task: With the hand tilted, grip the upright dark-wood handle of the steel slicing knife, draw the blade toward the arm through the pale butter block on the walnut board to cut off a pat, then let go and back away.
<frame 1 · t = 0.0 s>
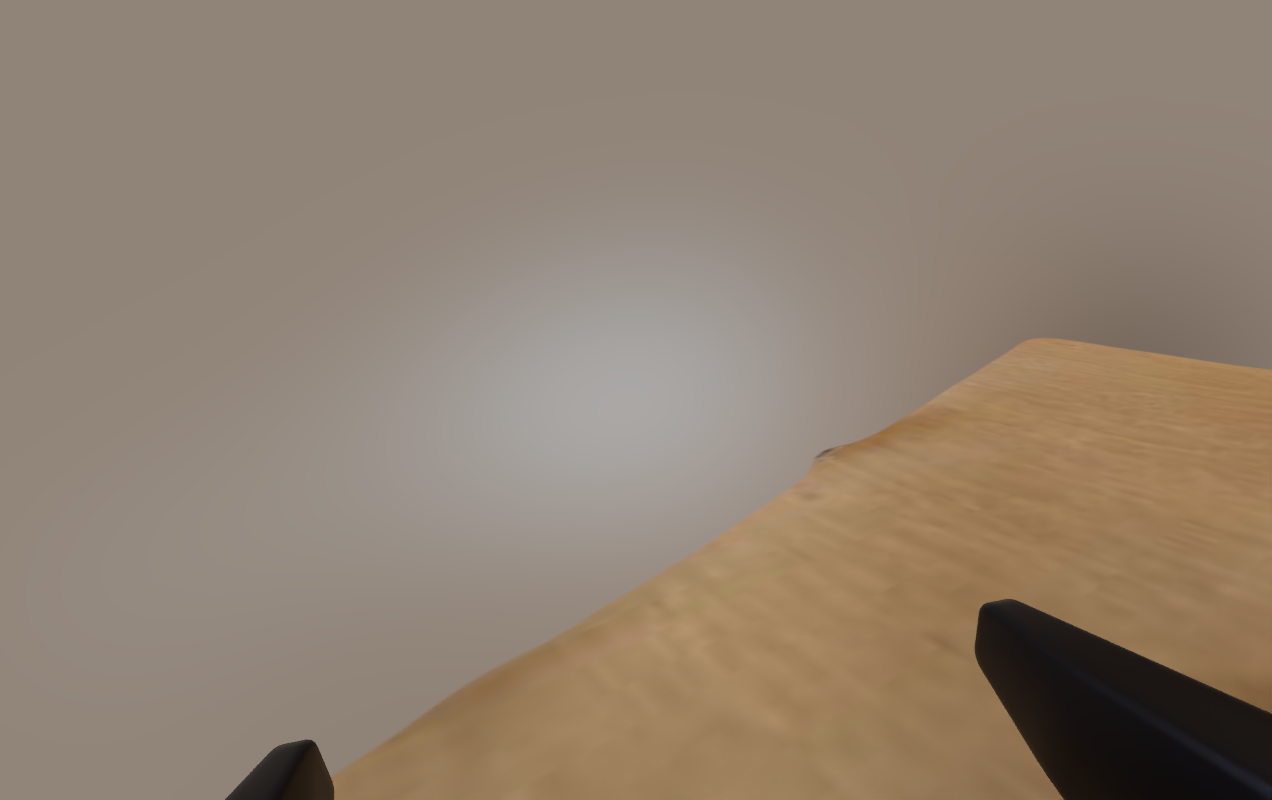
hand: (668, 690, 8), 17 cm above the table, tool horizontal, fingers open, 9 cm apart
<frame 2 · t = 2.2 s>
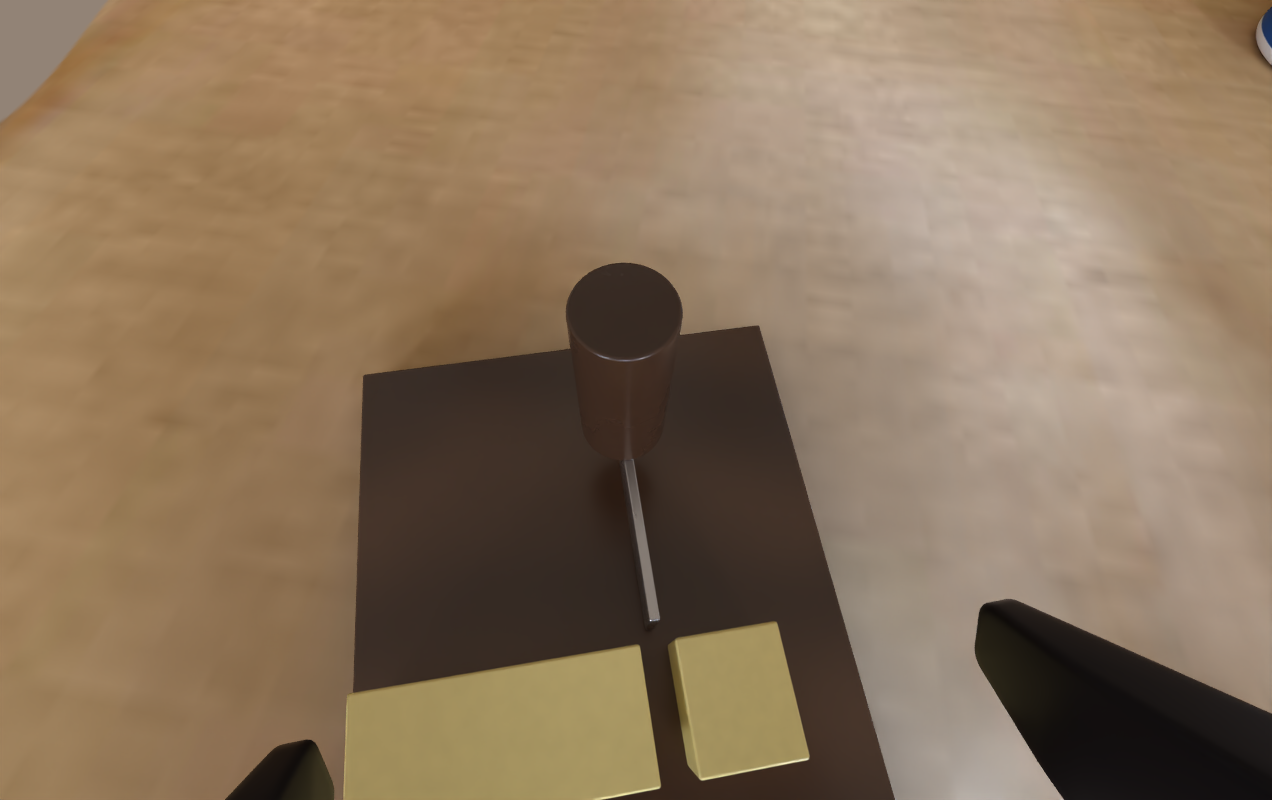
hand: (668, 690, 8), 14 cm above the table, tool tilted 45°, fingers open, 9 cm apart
butter: (517, 732, 19), point 1 cm above the table, touching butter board
knife: (635, 476, 17), point 7 cm above the table, slide at 0.0 cm
butter pat: (723, 694, 19), point 1 cm above the table, touching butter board
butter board: (601, 611, 22), on the table
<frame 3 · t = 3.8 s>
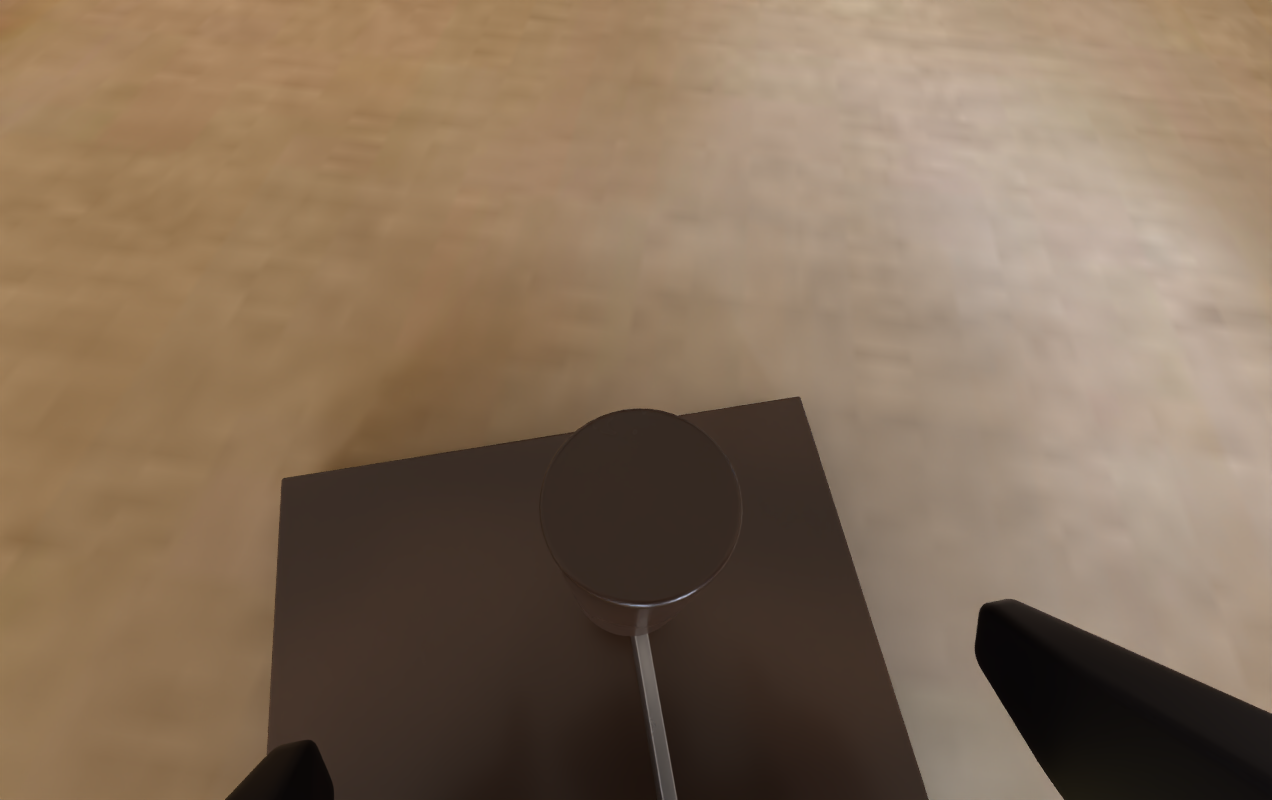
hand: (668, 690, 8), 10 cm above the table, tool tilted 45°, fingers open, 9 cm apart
knife: (655, 691, 11), point 7 cm above the table, slide at 0.0 cm
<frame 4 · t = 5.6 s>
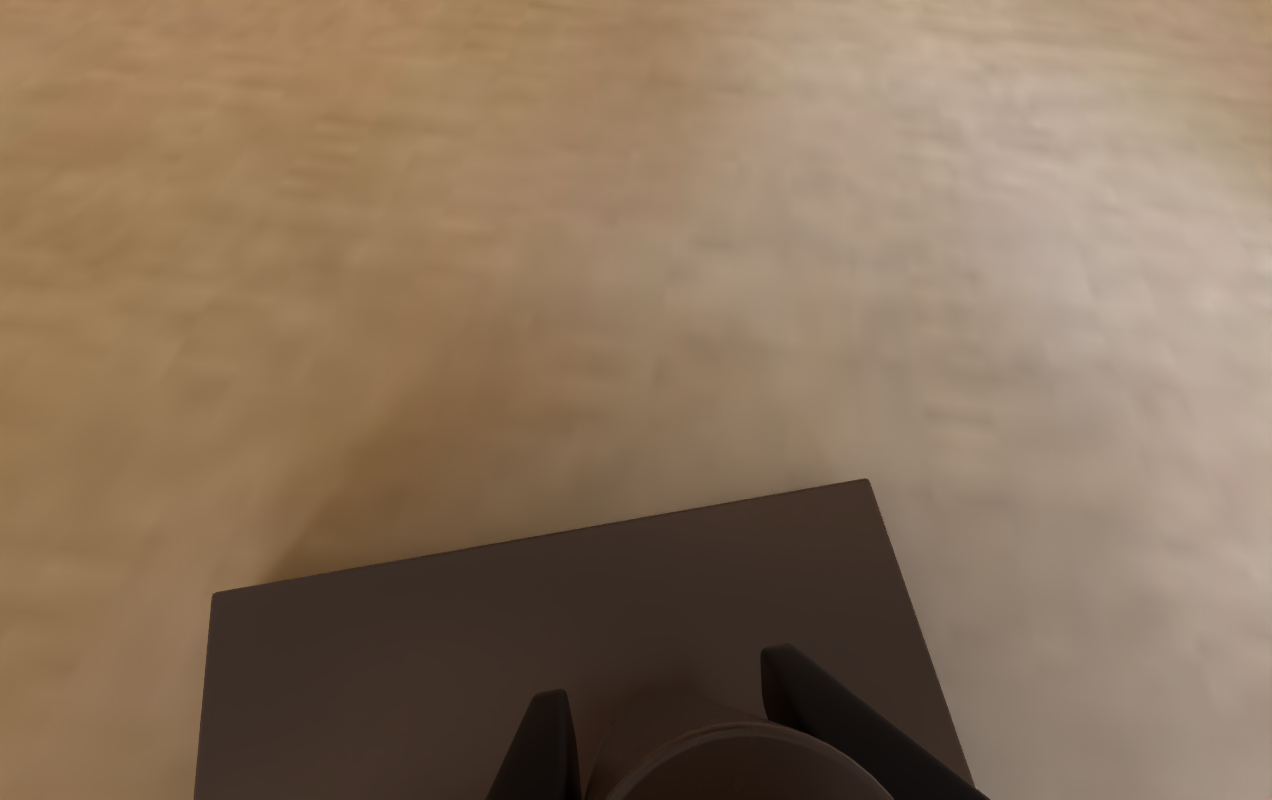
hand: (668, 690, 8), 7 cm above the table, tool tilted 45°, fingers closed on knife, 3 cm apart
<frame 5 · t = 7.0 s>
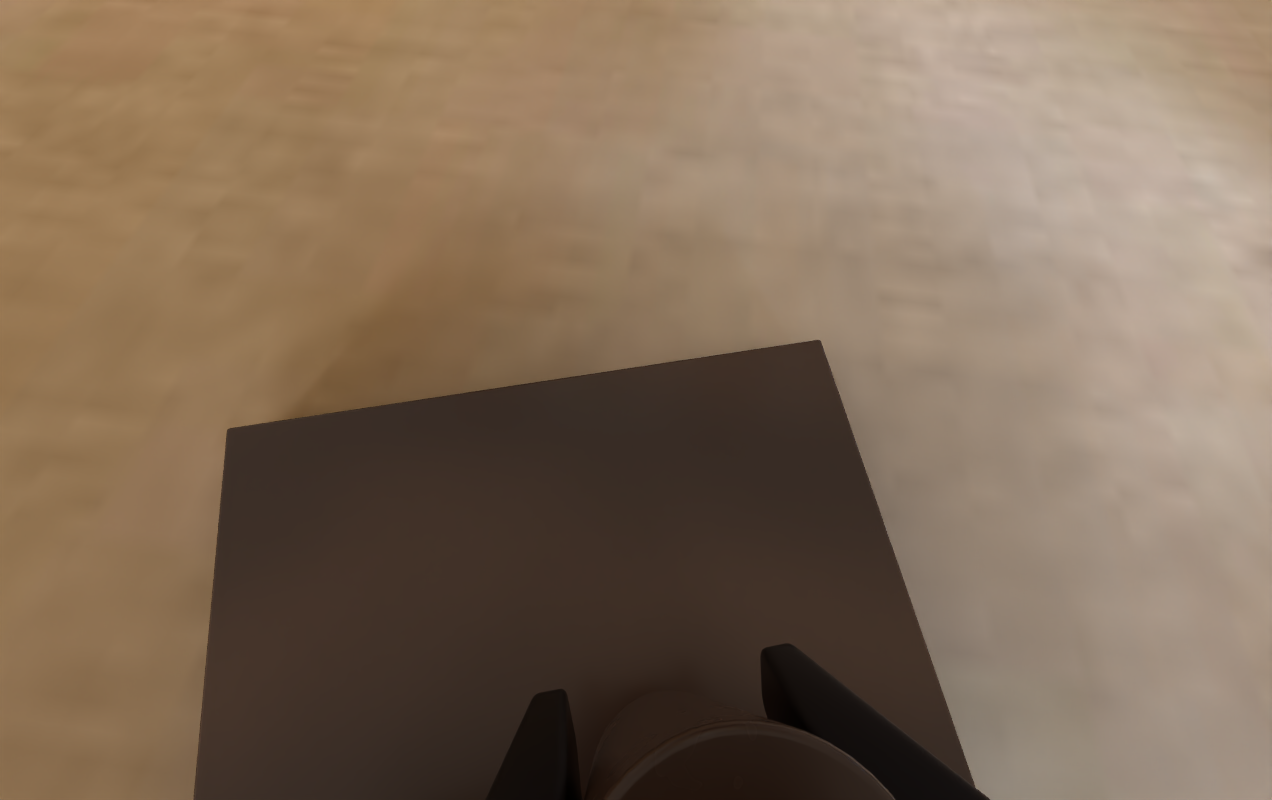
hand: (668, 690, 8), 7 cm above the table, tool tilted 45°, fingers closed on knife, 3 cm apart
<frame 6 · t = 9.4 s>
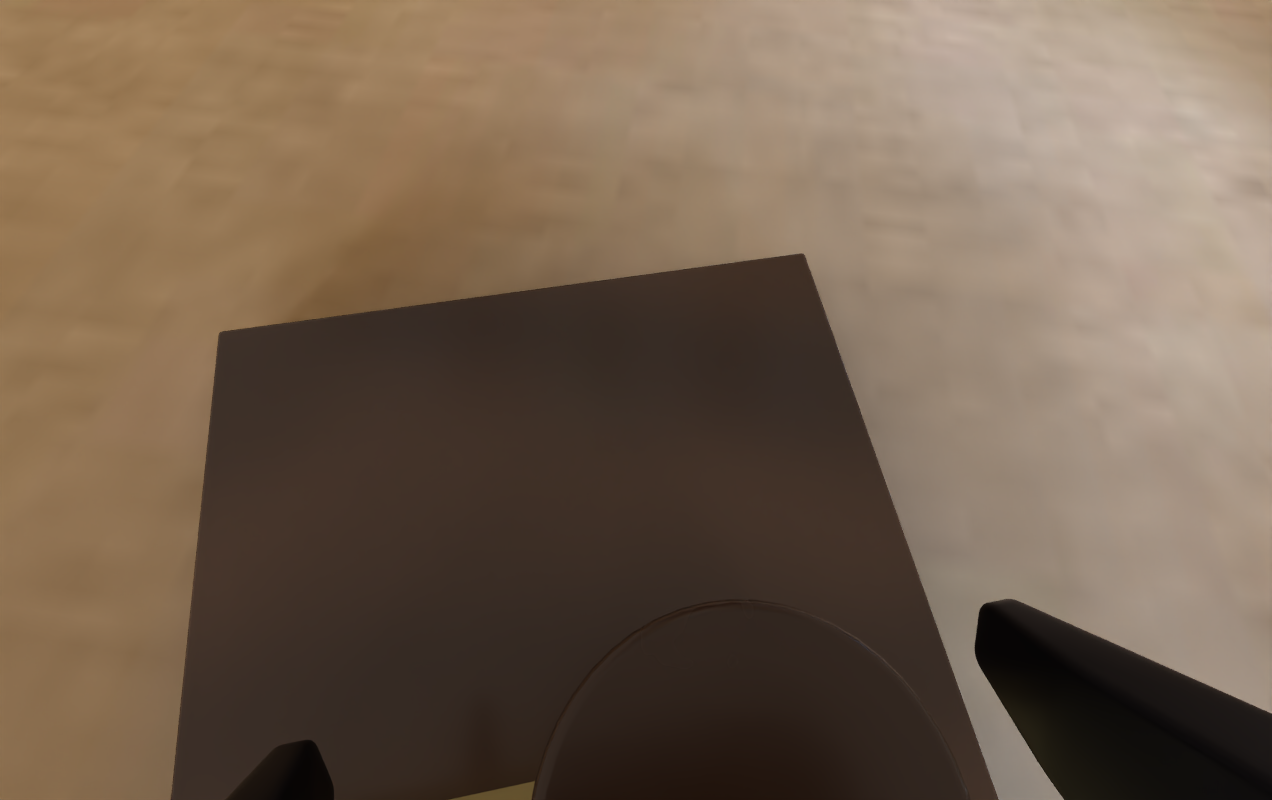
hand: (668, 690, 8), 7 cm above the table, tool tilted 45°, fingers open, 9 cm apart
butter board: (580, 685, 14), on the table
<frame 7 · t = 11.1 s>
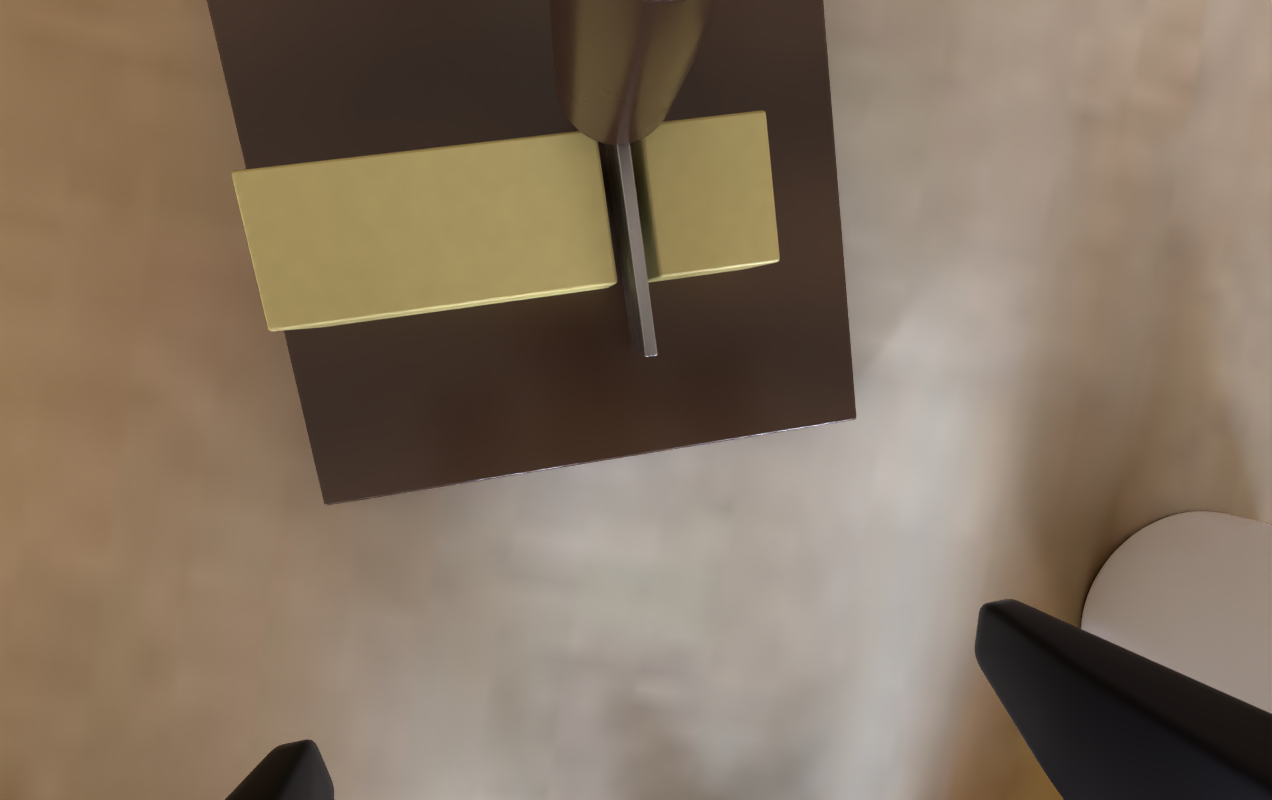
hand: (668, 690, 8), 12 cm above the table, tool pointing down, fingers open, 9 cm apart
butter: (456, 243, 17), point 1 cm above the table, touching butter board
knife: (638, 179, 12), point 7 cm above the table, slide at 5.8 cm
candle holder: (1173, 611, 23), on the table
butter pat: (688, 213, 17), point 1 cm above the table, touching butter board
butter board: (548, 122, 18), on the table
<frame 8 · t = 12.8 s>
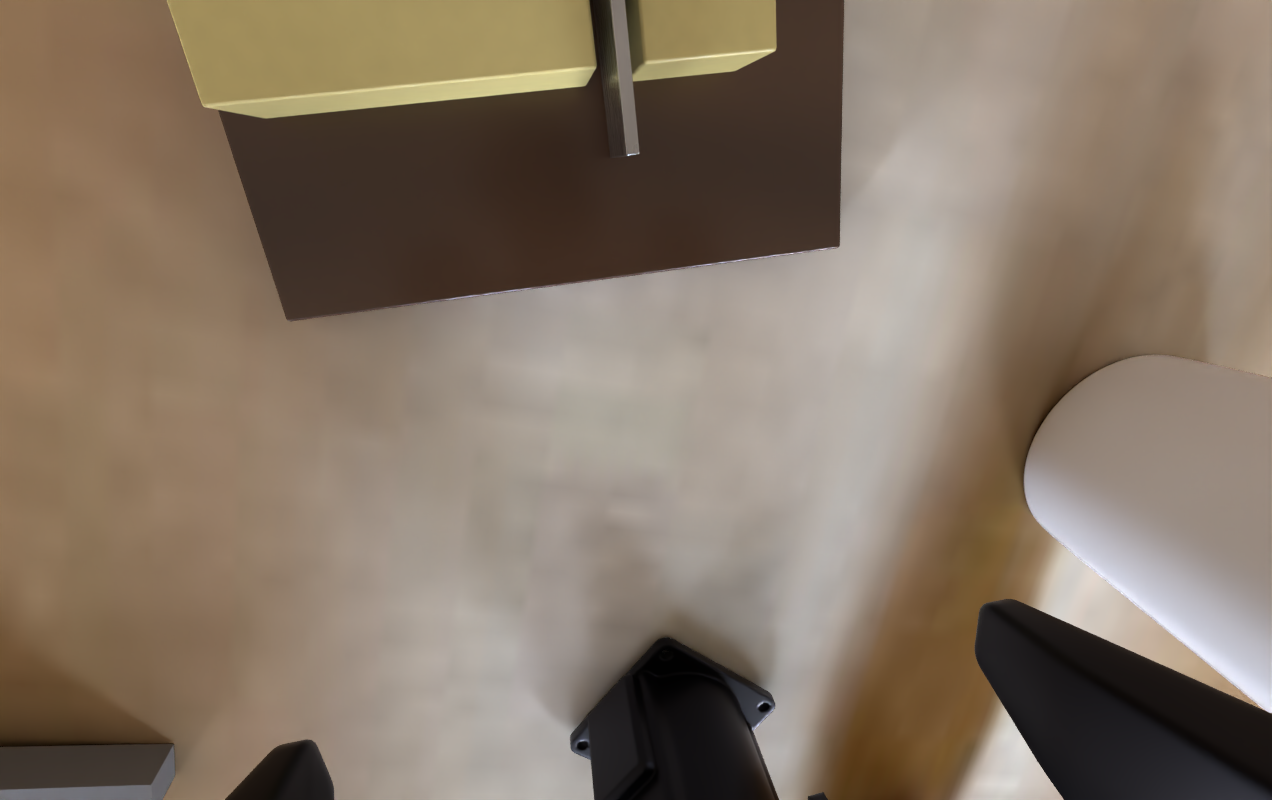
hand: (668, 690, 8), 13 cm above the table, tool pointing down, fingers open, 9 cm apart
butter: (413, 22, 15), point 1 cm above the table, touching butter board
candle holder: (1111, 449, 25), on the table
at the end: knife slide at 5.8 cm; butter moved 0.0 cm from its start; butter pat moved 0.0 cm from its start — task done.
